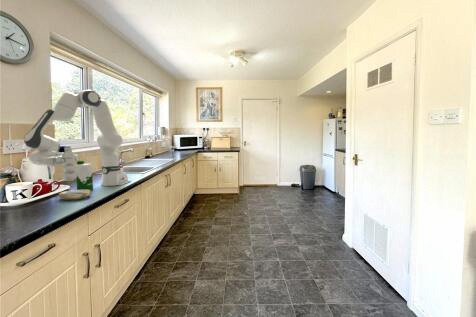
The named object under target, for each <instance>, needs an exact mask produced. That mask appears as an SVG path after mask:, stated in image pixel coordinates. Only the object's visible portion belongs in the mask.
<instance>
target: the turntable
mask: <svg viewBox="0 0 476 317" xmlns="http://www.w3.org/2000/svg"><path fill="white" fill-rule="evenodd" d="M91 191H92V190H85V189H80V190H77V189H70V190H65V191H62V192H58V198H59V199H60V200H61V199H62V200H63V199H76V198H82V197H86V196H87V197H88V196H91V195H92V193H91Z"/></svg>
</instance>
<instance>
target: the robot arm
mask: <svg viewBox="0 0 476 317" xmlns="http://www.w3.org/2000/svg"><path fill="white" fill-rule="evenodd" d="M79 108H90V109H91V110H92V114H93V118H94V121H95V125H96V127H97V128H98V130H99V131H100V134H99V135H98V136H97V138H96V142H97V144H98V146H99V150H100V153H101V161H102V162H101V163H102V166H101V172H102V173H101V182H100V186H104V187H109V186H111V187H112V186H122V185H125V184H128V183H130V182H132V180H131V179H128V178H129V177H128V174H127V173H126V172H124V171H123V170H121V169H123V168H124V166H123V165H119V163H120V162H119V154H118V152H117V149H116V148H119V147H120V146H122V144H123V141H124V140H123V137H122V136H121V134H119V132H118V130H117V128H116V126H115V124H114V122H113V118H112V115H111V111H110V108H109V106H108V103H107V101H106V100H105V99H102V98H101V96H100V95H99V93H98V92H97V91H95V90H93V89H86V90H80V91H77V92H75V93H73V92H64V93H63V94H62V95H61V96H60V97H59V99H58V101H57V102H56V105H55V106H54V107H53V108H51V109H47V110H46V111H45V112H43V114H42V115H41V117H40V118H39V119H38V120H37V122H36V123H35V124H33V127H32V128H31V129H30V130H29V131H28V132H27V133H26V134H25V135H24V137H23V142H24V144H25V146H26V147H28V148H32V149H35V150H34V151H32V152H30V153H29V154H28V159H29V161H30V163H32V164H33V165H37V166H42V167H43V166H44V167H45V166H48V167H56V166H59V165H63V162H65V159H62V155H63V153H64V152H65V151H63V152H60V148H61V144H60V142H59V141H58V139H55V138H54V137H51V136H48V135H46V134H44V131H45V130H46V128H47V127H48V125H49V124H50V123H51V122H53V121H56V122H57V121H58V122H68V121H71V120H72V119H73V118H74V116H75V115H76V114H75V113H76V112H77V109H79ZM74 155H75V162H77V161H80V160H79V159H80V158H79V154H76V153H74Z"/></svg>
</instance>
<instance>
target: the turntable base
mask: <svg viewBox="0 0 476 317" xmlns="http://www.w3.org/2000/svg"><path fill="white" fill-rule="evenodd" d="M87 198H88V196H86V197H82V198H76V199H62V200H63V201H66V202H73V201H80V200H85V199H87Z"/></svg>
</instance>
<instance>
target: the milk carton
mask: <svg viewBox="0 0 476 317" xmlns="http://www.w3.org/2000/svg"><path fill="white" fill-rule="evenodd" d="M74 166H75V173H76V179H75V180H76V190H80V189H85V190H90V191H92V190H94V182H93V163H85V160H78V161H76V164H75V165H74Z"/></svg>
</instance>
